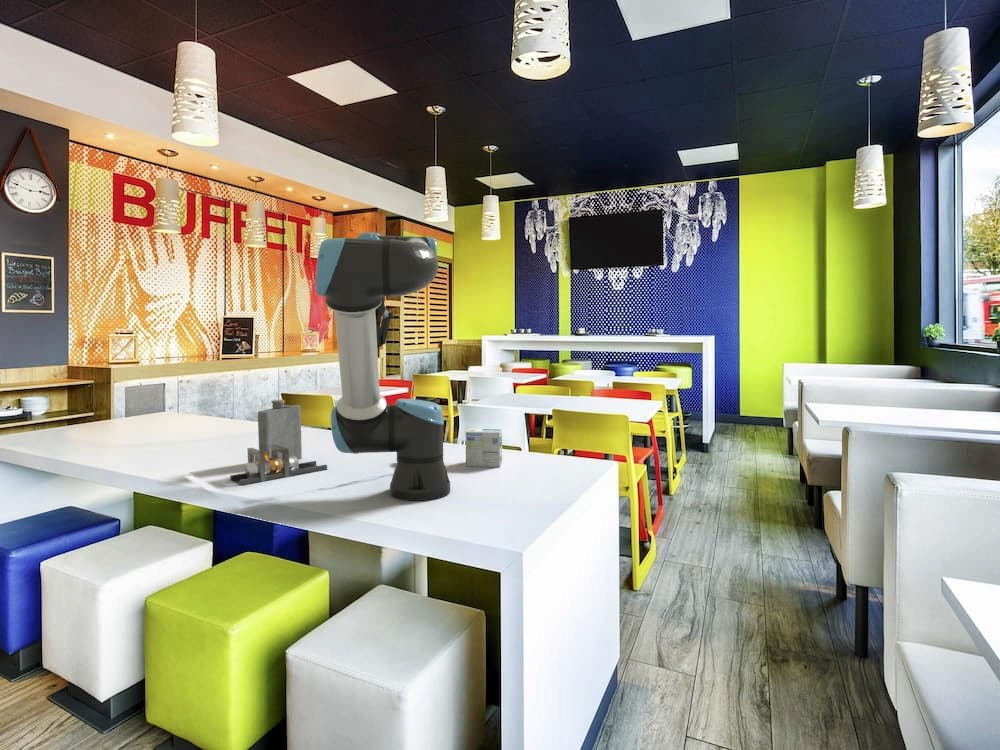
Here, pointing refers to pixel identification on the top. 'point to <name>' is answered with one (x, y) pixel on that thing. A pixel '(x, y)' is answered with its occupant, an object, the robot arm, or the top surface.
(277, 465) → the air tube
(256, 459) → the aperture plate
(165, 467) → the top surface
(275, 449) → the grey metal bracket
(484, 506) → the top surface
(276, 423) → the hip flask
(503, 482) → the top surface
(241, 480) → the black base plate
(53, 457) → the top surface
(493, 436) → the light bulb box
